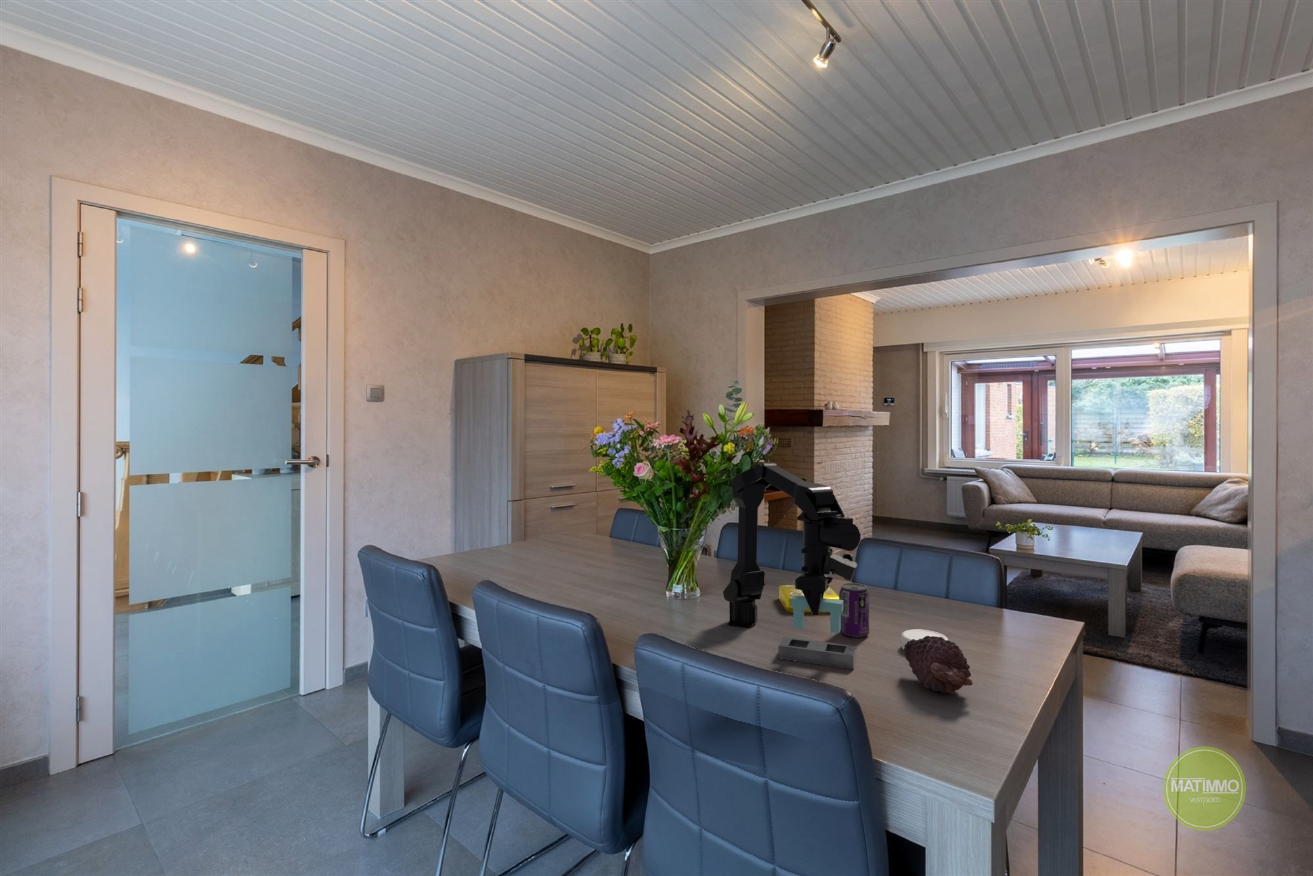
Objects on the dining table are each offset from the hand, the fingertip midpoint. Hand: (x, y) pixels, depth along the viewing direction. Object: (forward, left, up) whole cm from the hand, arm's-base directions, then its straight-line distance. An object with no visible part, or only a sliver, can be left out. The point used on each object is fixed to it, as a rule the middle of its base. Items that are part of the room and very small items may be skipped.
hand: (816, 612), depth 134 cm
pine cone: (+24, -6, -11) cm, 27 cm away
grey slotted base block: (0, 0, -10) cm, 10 cm away
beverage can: (+6, +20, -11) cm, 23 cm away
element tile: (-8, +41, -11) cm, 43 cm away
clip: (0, 0, -4) cm, 4 cm away
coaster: (+22, +15, -11) cm, 29 cm away
